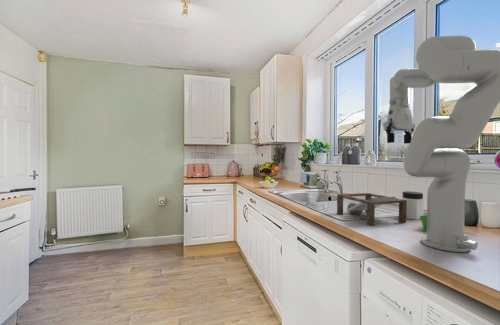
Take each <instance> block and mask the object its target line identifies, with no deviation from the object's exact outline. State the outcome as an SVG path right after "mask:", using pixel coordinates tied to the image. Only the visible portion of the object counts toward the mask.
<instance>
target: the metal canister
mask: <svg viewBox="0 0 500 325" xmlns="http://www.w3.org/2000/svg"><path fill="white" fill-rule="evenodd" d="M357 204H358V203H356V202H355V203H354V202H349V204H348V205H347V207H346V208H347V209H349V208H351V207H353V206H355V205H357ZM347 209H346V210H347ZM363 212H364V210H363V211H349V213H351V214H354V215H357V216H360V215H362V214H363Z"/></svg>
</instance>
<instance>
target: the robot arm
mask: <svg viewBox="0 0 500 325" xmlns="http://www.w3.org/2000/svg"><path fill="white" fill-rule="evenodd" d="M476 48H477V47H476V42H475V41H474V39H473V38H471V37H469V36H467V35H441V36H432V37H428V38H426V39H425V40H424V41H422V43H421V44H420V45H419V47H418V49H417V50H416V55H415V59H416V63H417V65H418V67H417V68H403V69H402V68H401V69H399V70H398V71H396V72H395V74H394V76H392V77H391V78H390V80H389V101H388V104H389V108H388V112H387V118H386V119H387V120H386V121H385V122H383V123H382V126H383V128H384V131H385V134H387V135H386V136H387V138H386V143H387V144H391V143H395V131H403V133H404V134H403V144H409V145H408V148H407V150H406V153H405V156H404V161H403V167H404V168H403V169H404V171H405V173H406V174H407V175H409V176H411V177H415V178H433V179H432V181H431V183H430V184H429V186H428V188H427V193H426V194H427V195H426V206H427V207H426V215H427V230H426V235H423V236H422V237H421V238H420V242H421V243H422V244H423V245H425V246H427V247H430V248H433V249H436V250H437V249H438V250H442V251H446V252H454V253H455V252H456V253H467V252H470V251H471V250H472V251H476V250H477V248H478V242H477V241H472V240H470V239H469V235H468V234H466V233H465V210H466V208H465V206H466V205H465V204H466V202H465V201H466V186H467V185H466V184H467V179H468V174H469V171H470V169H471V168H470V167H471V158H470V156H469V155H468V153H467V152H465V151H464V149H468V148H471V147H472V146H474V145H475V144H476V143H477V141H478V140H479V138H480V137H481V135H482V133H483V132H484V130H485V128H486V126H487V125H488V123H489V121H490V119H491V117H492V115H493V113H494V111H495V110H496V108H497V106H498V105H499V104H500V49H497V48H496V49H495V48H494V49H493V48H492V49H489V48H488V49H486V48H485V49H476ZM437 83H439V84H474V85H473V86H472V87H471V88H469V89H468V90H466V92H463V94H461V96H460V97H459V98H458V99H457V101H456V102H455V105H454V107H453V109H452V110H451V113H450V114H448V116H431V117H426V118H424V119H423V120H421V122H419V123H418V124H417V125H416V124H414V123H413V122H414V121H413V120H414V118H413V112H412V108H411V106H410V97H411V96H410V95H411V94H410V89H416V88H417V89H418V88H420V89H421V88H423V89H424V88H427V87H428V88H429V87H431V86H433V85H436V84H437ZM462 149H463V150H462Z"/></svg>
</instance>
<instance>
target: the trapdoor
mask: <svg viewBox="0 0 500 325" xmlns="http://www.w3.org/2000/svg"><path fill="white" fill-rule="evenodd" d="M396 198H397V197H396V196H387V197H378V198H377V197H371V198H370V199H368V201H383V200H396ZM356 204H357V205H355V206H353V207H351V208H349V209H346V212H349V211H363V212H364V211H365V210H367V204H366V203H362V202H359V203H356ZM383 205H384V204H375V209H376V208H378V207H382V206H383ZM349 213H350V212H349Z"/></svg>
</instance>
